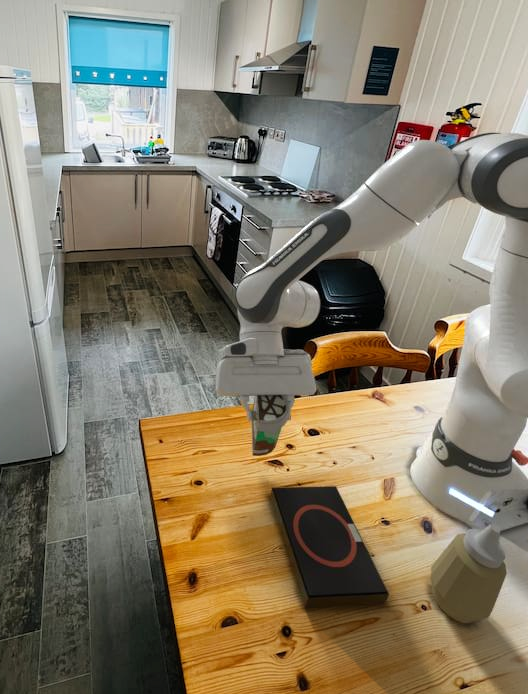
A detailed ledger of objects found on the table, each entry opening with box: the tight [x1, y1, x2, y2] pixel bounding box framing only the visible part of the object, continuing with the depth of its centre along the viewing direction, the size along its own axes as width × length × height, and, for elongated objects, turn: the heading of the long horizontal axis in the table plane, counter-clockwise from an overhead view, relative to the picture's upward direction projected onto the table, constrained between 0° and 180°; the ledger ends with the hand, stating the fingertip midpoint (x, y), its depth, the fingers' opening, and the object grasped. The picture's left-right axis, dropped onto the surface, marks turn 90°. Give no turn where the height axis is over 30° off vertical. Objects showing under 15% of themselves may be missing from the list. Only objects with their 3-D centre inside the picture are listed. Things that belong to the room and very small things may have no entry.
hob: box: [269, 485, 390, 609], centre depth 69 cm, size 13×18×3 cm
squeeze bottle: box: [430, 524, 507, 624], centre depth 59 cm, size 8×8×18 cm
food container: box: [250, 395, 289, 457], centre depth 79 cm, size 12×6×10 cm, turn 171°
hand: (268, 420), depth 78 cm, fingers closed on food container, 5 cm apart
